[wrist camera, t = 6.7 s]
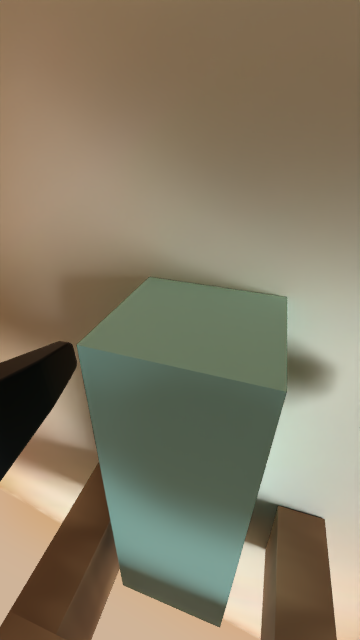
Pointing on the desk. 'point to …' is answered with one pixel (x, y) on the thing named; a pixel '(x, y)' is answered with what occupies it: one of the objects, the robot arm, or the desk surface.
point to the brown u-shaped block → (102, 567)
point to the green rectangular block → (185, 431)
